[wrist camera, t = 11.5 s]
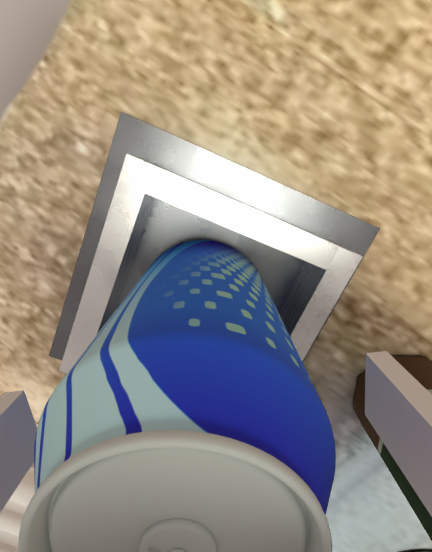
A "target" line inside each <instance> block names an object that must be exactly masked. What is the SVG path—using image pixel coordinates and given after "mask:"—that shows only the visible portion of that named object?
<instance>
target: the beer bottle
mask: <svg viewBox="0 0 432 552" xmlns="http://www.w3.org/2000/svg"><path fill="white" fill-rule="evenodd" d="M392 357H393V358H394V359H395V360H396V361H397V362H398V363H399V364H401V365H402V366H403V367H404V368H405V369H406V370H407V371H408V372H409V373H410V374H411V375H412V376H413V377H414V378H415V379H416V380H417V381H418V382H419V383H420V384H421V385H422V386H423V387H424V388H425V389H426V390H428V391H429V392H430V393H431V394H432V361H431V360H429V359H428V358H426V357H422V356H392ZM354 410H355V412H356V414H357V416H358V418H359V420H360V422H361V424H362V426H363V427H364V429H365V431H366V432H367V434H368V436H369V437H370V439H371V441H372V442H373V444H374V446H375V447H376V449H377V451H378V452H379V454H380V456H381V457H382V459H383V461H384V462H385V464H386V466H387V467H388V469H389V471H390V472H391V474H392V476H393V477H394V479H395V481H396V482H397V484H398V486H399V487H400V489H401V490H402V492H403V494H404V495H405V497H406V499H407V500H408V502H409V504H410V505H411V507H412V509H413V510H414V512H415V514H416V515H417V517H418V519H419V520H420V522H421V524H422V525H423V527H424V529H425V530H426V532H427V534H428V535H429V537H430V539H431V540H432V517H431V515H430V513H429V512H428V510H427V509H426V507H425V506H424V504H423V503H422V501H421V500H420V498H419V497H418V495H417V494H416V492H415V490H414V489H413V487H412V486H411V484H410V483H409V481H408V480H407V478H406V477H405V475H404V474H403V472H402V471H401V469H400V468H399V466H398V464H397V463H396V461H395V460H394V458H393V457H392V455H391V454H390V452H389V451H388V449H387V448H386V446H385V445H384V443H383V441H382V440H381V438H380V437H379V435H378V434H377V432H376V431H375V429H374V428H373V426H372V425H371V423H370V422H369V420H368V419H367V417H366V415H365V372H364V373H363V374H361V375H360V376H359V378H358V383H357V389H356V394H355V400H354Z"/></svg>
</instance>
